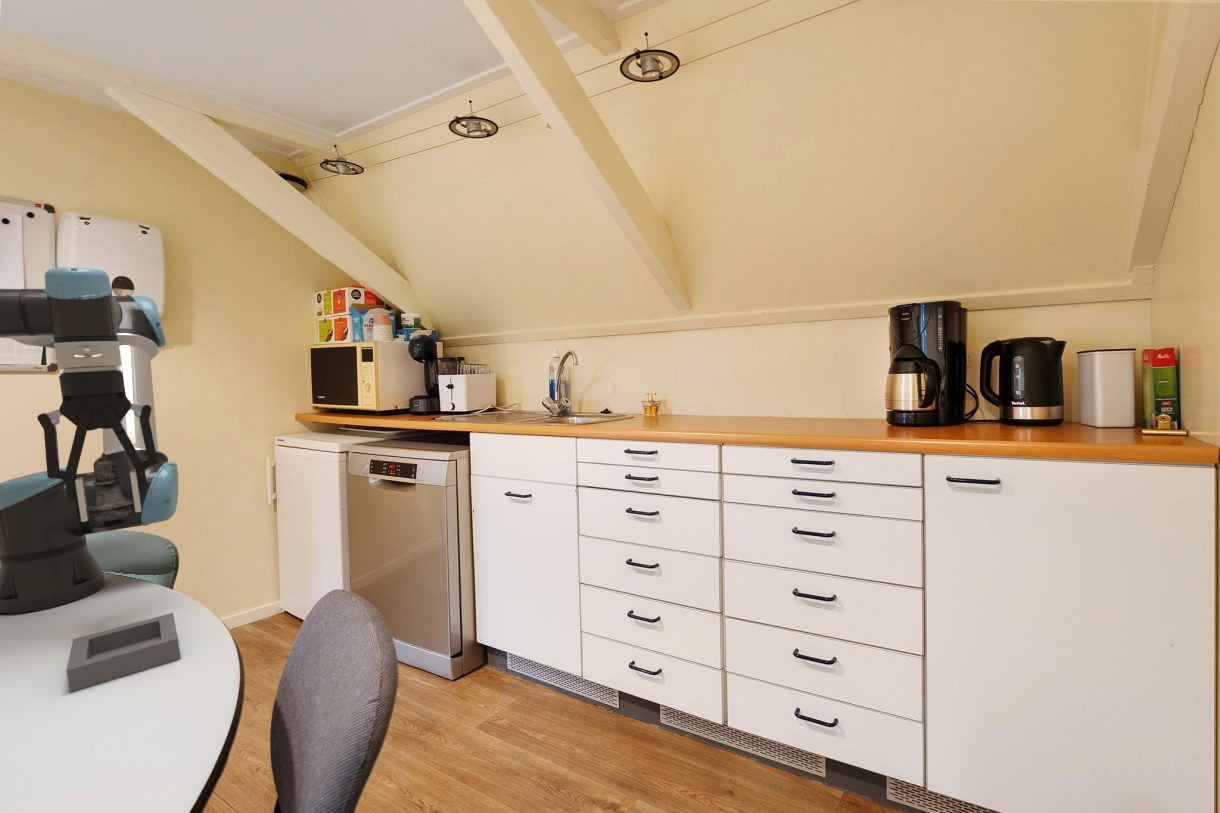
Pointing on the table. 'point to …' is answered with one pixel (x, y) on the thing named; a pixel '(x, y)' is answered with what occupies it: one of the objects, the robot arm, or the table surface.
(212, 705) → the table surface
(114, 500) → the dark grey tall piece
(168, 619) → the grey square tray
